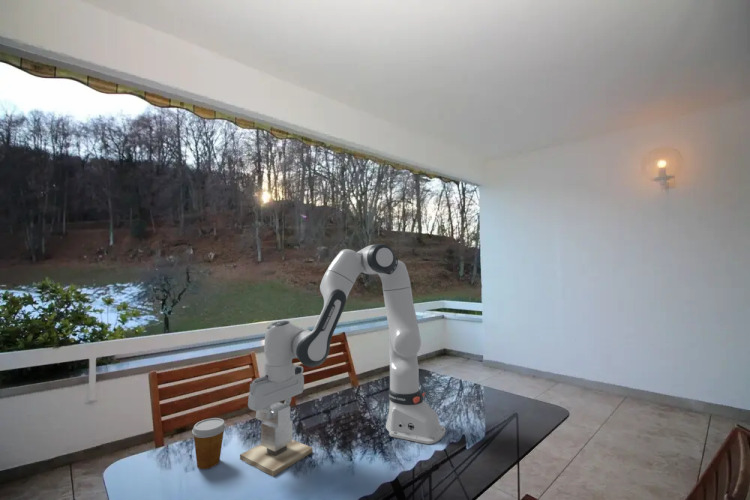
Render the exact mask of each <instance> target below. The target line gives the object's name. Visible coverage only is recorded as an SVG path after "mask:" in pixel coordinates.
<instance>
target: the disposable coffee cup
mask: <svg viewBox="0 0 750 500" xmlns="http://www.w3.org/2000/svg"><path fill="white" fill-rule="evenodd" d="M226 427H227V426H226V423H225V420H224V419H223V418H219V417H211V418H206V419H202V420H201V421H198V422H196V423H195V424H194V426H193V428H192V430H191V432H192V433H191V434H192V436H193V439H194V440H193V441H194V450H195V459H196V466H197V468H198V469H200V470H207V469H208V470H209V469H211V468H214V467H215V466H217V465H219V463H220V459H221V452H222V445H223V440H224V439H223V438H224V433H225V432H224V431H225V429H226Z"/></svg>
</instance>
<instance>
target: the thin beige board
mask: <svg viewBox="0 0 750 500" xmlns="http://www.w3.org/2000/svg"><path fill="white" fill-rule="evenodd" d="M312 453H313V447H311V446H310V445H307V444H304V443H303V442H302V443H301V442H299V441H297V440H295V439H292V443H290V444H288V445H286V446H285V447H283V448H281V449H279V450H277V451H272V450H270V449H268V448H266V447H264V446H262V445H261V443H260V444H258V445H256V446H254V447H252V448H250V449H248V450H246V451H245V452H242V453H240V455H239V460H241V461H242V462H245V463H246V464H249V465H250V466H252V467H254V468H256V469H258V470H260V471H262V472H263V473H266V474H267V475H269V476H272V477H274V476H276V475H279V473H281V472H283V471H285V470H286V469H287V468H289V467H291V466H292V465H294V464H296V463H297V462H299V461H301V460H302V459H304V458H306V457H307V456H309V455H310V454H312Z"/></svg>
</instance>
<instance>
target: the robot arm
mask: <svg viewBox="0 0 750 500" xmlns="http://www.w3.org/2000/svg"><path fill="white" fill-rule="evenodd" d="M360 274H362V275H378V276H379V278H380V280H381V284H382V285H381V288H382V293H383V301H384V308H385V313H386V319H387V324H388V325H387V326H388V351H389V352H388V353H389V354H388V355H389V388H388V403H389V405H388V406H389V407H388V414H387V415H388V416H387V420H386V423H385V429H386V430H387V431H388V432H389V434H388V435H389V437H392V438H396V439H401V440H406V441H410V442H416V443H420V444H426V445H431V444H435V443H437V442H439V441H441V439H443V437H444V436H445V435H446V431H447V430H446V427H445V426H443V425H441V424H440V420H439V415H438V413H437V412H436V411H435V410H434V409H433V408H431V406H430V405H429V404H428V403H426V401H425V400H424V397H425V396H426V392H423V393H422V392H421V390H420V387H419V385H420V384H419V383H420V381H419V380H420V377H419V374H420V373H419V361H418V353H419V352H420V350H421V345H422V343H421V342H422V341H421V340H422V339H421V335H420V329H419V324H418V319H417V316H416V315H417V314H416V310H415V306H414V299H413V291H412V285H411V284H412V283H411V279H410V276H409V272H408V268H407V265H406V263H405V262H403V261H401V260H398V258H397V256H396V254H395V251H394V250H393V248H392V247H391V246H390V245H387V244H385V243H375V244H370V245H367V246H365V247H363V248H360V249H358V250H357V251H356V250H353V249H348V248H345V249H341V250H340V251H339V252H338V253H337V255H336V256H335V257H334V258H333V260H332V261H331V263H330V264H329V266H328V268H327V269H326V271H325V273H324V275H323V276H322V279H321V282H320V285H319V291H320V294H321V295H322V297H323V308H322V309H321V312H320V315H319V316H318V318H317V321H316V324H315V325H314V327H313V329H312V330H310V329H307V328H303V327H299V326H297V325H294V324H293V323H292V322H290V321H288V320H280V321H276V322H272V323H271V324H269V325H268V326H267V328H266V330H265V333H264V344H263V347H264V348H263V351H264V355H265V358H264V361H263V376H261V377H257V378H255V379H254V380H253V381H251V383H250V384H249V393H248V399H247V401H248V402H247V406H248V408H249V409H250V410H252V411H254V412H256V411H258V410H260V409H263V410H264V412H265V413H266V415H265V418H266V419H267V420H269V419H271V418H273V413H272V412H270V411H269V409H270V405H273V404H275V403H278V402H280V403H281V402H283V401H284V403H283V404H286V405H289V406H290V404H291V402H292V398H293V397H295V396H297V395H301V394H302V393H303V391H304V388H305V376H304V374H303V373H304V367H303V366H305V367H308V368H316V367H319V366H321V365H322V364H323V363H324V362H325V361H326V360H327V358H328V356H329V354H330V350H331V349H330V348H331V340H332V337H333V335H334V332H335V330H336V328H337V325H338V323H339V321H340V319H341V316H342V313H343V311H344V309H345V307H346V302H347V300H348V298H349V297H348V296H349V295H350V292H351V291H352V288H353V286H354V284H355V282H356V280H357V278H358V277H359V275H360ZM293 359H294V360H295V359H298V360H299V362H300V363H301V364H302V365H303V366H301V365H298V364H293Z"/></svg>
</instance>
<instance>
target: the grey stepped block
mask: <svg viewBox="0 0 750 500" xmlns="http://www.w3.org/2000/svg"><path fill="white" fill-rule="evenodd" d="M269 411H270V412H272V413H273V418H271V419H269V420H267V419H266V418H265V415H266V413H265V412H264V410H263V409H260V410H258V411H255V419H256V420H258V421H261V422H260V444H261V445H262V446H264V447H266V448H268V449H270V450H272V451H277V450H279V449H281V448H283V447H285V446H286V445H288V444H290V443H292V440H293V422H294V421H293V420H292V419H291V405H290V404H289V405H286V404H284V403H282V402H281V401H280V402H278V403H275V404H273V405H270V409H269Z"/></svg>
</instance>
